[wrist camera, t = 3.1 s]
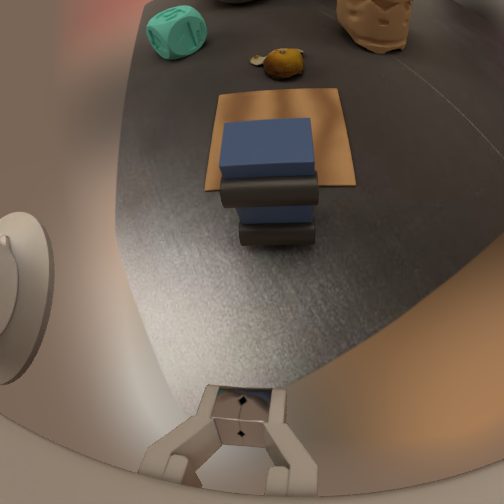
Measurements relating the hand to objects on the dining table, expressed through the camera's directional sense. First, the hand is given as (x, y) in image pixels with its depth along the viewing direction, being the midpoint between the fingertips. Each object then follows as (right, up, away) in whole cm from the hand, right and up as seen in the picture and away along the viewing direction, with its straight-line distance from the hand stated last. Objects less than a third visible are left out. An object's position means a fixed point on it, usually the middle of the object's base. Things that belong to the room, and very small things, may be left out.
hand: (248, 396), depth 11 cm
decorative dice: (-13, +43, +35) cm, 57 cm away
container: (+21, +43, +30) cm, 57 cm away
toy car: (+3, +8, +19) cm, 21 cm away
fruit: (+5, +34, +29) cm, 45 cm away
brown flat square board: (+3, +20, +24) cm, 31 cm away
